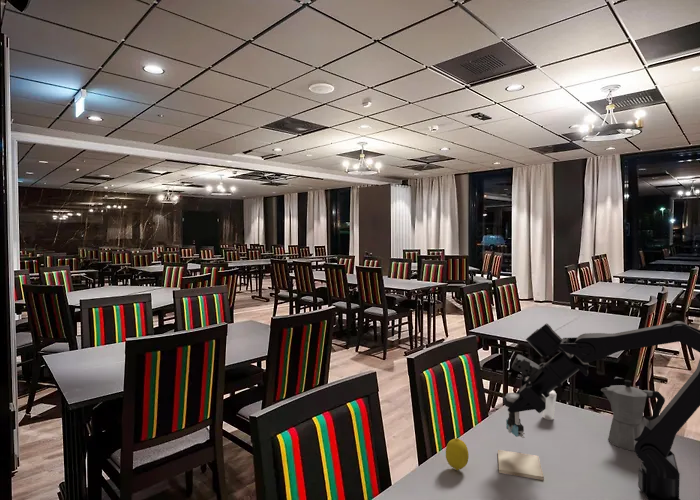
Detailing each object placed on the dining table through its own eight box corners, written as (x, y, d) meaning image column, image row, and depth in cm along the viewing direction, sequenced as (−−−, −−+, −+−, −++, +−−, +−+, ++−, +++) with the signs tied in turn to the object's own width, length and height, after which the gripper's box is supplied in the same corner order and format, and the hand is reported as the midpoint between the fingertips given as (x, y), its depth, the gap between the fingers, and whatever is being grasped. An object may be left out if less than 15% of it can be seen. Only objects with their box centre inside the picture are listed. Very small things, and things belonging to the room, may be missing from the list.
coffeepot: (605, 447, 113) (606, 383, 112) (595, 432, 122) (596, 372, 121) (671, 456, 108) (672, 389, 108) (656, 440, 117) (657, 378, 117)
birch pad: (538, 458, 107) (538, 455, 107) (543, 480, 97) (543, 476, 97) (497, 452, 110) (497, 449, 110) (499, 472, 100) (499, 469, 100)
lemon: (452, 477, 98) (452, 445, 98) (441, 465, 103) (441, 434, 103) (472, 474, 100) (473, 442, 99) (460, 462, 105) (461, 431, 105)
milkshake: (535, 416, 132) (535, 386, 132) (547, 413, 135) (547, 383, 134) (547, 422, 128) (548, 391, 128) (559, 419, 131) (559, 388, 130)
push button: (532, 438, 104) (532, 400, 104) (514, 441, 103) (513, 403, 103) (517, 426, 111) (516, 390, 110) (499, 428, 110) (498, 392, 109)
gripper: (532, 338, 114) (491, 373, 119) (529, 355, 97) (481, 394, 102) (565, 370, 110) (521, 404, 115) (567, 393, 93) (515, 431, 98)
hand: (509, 407), depth 108 cm, fingers closed on push button, 5 cm apart
